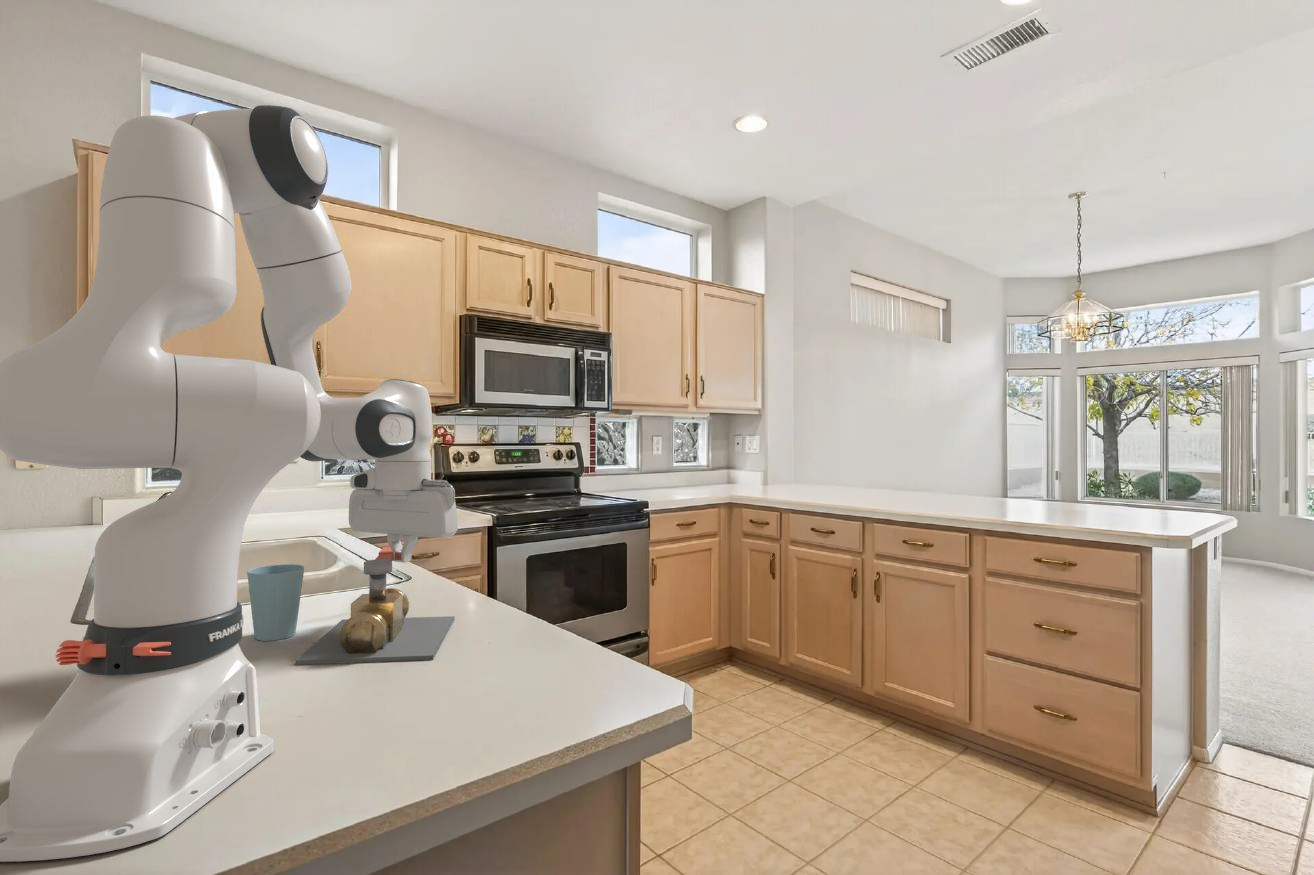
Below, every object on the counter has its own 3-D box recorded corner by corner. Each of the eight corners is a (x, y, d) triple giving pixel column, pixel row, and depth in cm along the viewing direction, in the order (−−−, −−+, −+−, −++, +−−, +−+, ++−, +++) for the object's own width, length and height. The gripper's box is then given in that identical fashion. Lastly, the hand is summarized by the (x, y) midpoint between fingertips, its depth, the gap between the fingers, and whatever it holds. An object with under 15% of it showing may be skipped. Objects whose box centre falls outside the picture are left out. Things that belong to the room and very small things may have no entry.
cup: (306, 638, 100) (307, 570, 100) (247, 646, 96) (248, 576, 96) (301, 626, 107) (301, 562, 107) (245, 633, 102) (246, 567, 102)
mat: (432, 659, 92) (433, 655, 92) (295, 664, 89) (295, 660, 89) (454, 619, 111) (454, 616, 111) (342, 623, 109) (342, 619, 109)
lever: (390, 574, 99) (390, 563, 99) (361, 575, 98) (361, 564, 98) (403, 554, 114) (403, 545, 114) (379, 555, 113) (379, 546, 113)
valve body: (384, 656, 93) (385, 585, 93) (339, 658, 92) (340, 586, 92) (409, 624, 108) (409, 563, 108) (370, 625, 107) (371, 564, 107)
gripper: (466, 479, 108) (465, 563, 108) (371, 475, 115) (370, 554, 115) (441, 481, 102) (439, 570, 102) (342, 477, 109) (340, 560, 109)
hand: (401, 561), depth 109 cm, fingers closed
